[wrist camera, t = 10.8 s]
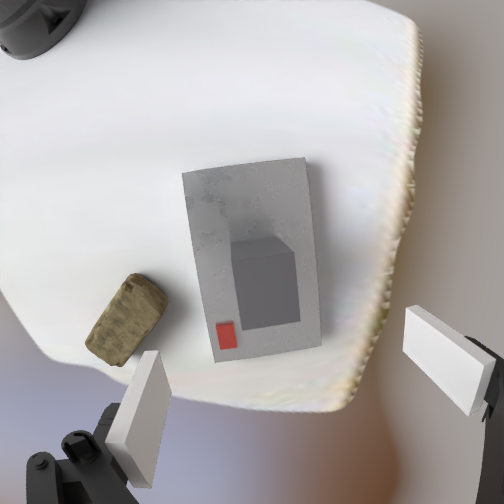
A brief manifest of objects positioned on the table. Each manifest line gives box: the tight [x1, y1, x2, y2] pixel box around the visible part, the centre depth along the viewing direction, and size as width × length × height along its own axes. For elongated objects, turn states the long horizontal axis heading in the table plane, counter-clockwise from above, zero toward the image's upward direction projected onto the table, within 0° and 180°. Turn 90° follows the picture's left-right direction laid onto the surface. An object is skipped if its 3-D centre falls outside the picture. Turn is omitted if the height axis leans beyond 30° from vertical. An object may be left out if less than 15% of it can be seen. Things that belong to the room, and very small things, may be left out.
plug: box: [230, 236, 301, 331], centre depth 30 cm, size 6×5×12 cm
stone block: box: [85, 273, 168, 367], centre depth 34 cm, size 6×12×5 cm, turn 141°
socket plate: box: [182, 158, 321, 363], centre depth 35 cm, size 22×13×4 cm, turn 7°
